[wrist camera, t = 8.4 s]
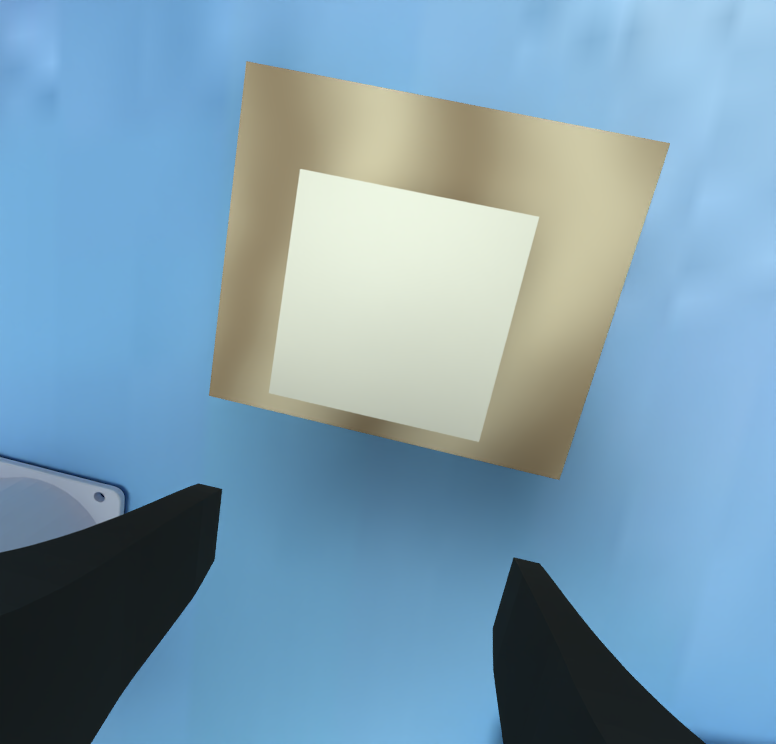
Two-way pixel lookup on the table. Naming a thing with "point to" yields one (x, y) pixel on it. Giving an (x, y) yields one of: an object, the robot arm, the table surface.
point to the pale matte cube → (397, 302)
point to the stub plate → (453, 181)
